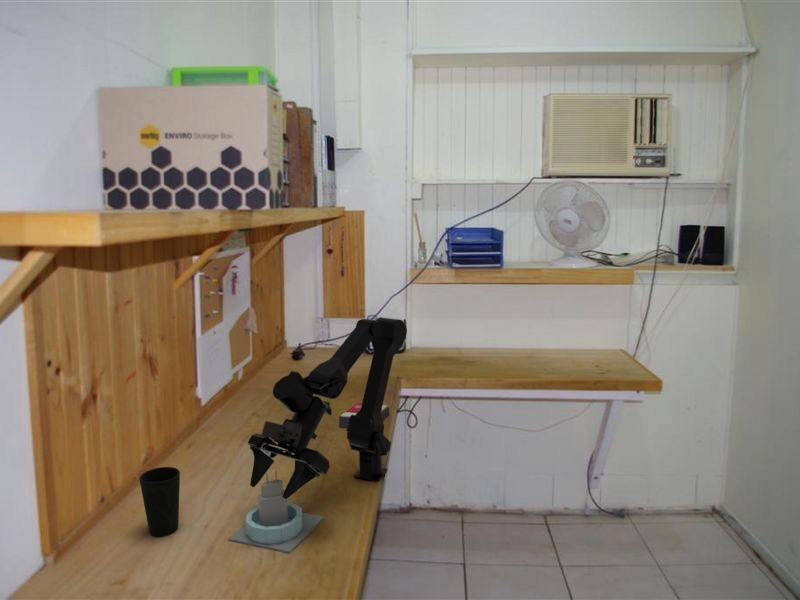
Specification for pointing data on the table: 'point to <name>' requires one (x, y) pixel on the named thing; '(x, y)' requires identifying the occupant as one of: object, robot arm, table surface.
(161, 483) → the cup
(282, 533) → the bowl
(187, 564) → the table surface
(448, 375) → the table surface
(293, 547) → the mat
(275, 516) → the power adapter
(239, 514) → the table surface
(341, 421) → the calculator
